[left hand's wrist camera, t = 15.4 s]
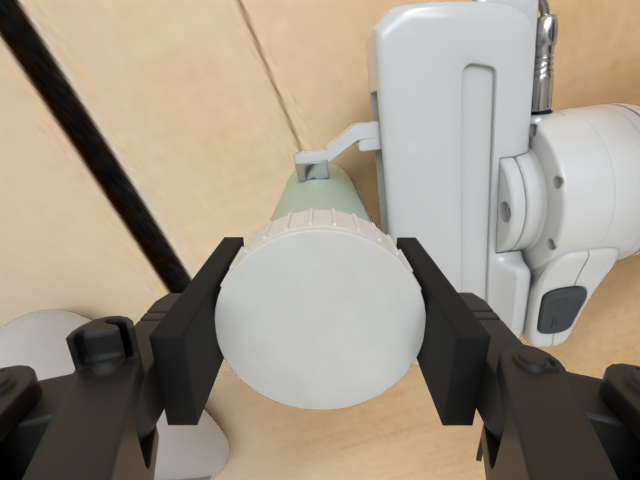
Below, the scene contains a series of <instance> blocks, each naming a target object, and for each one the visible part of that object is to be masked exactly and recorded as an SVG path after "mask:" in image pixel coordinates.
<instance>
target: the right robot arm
mask: <svg viewBox="0 0 640 480" xmlns="http://www.w3.org/2000/svg"><path fill="white" fill-rule="evenodd" d="M538 9H539V13H540V17H539V18H537V16H538ZM557 37H558V19H557V15H556V14H551V15H550V9H549V5H548V2H547V0H473V1H472V2H471V1H446V2H425V3H415V4H406V5H400V6H396V7H393V8H391V9H389V10H388V11H386V12H385V13H384V14H383V15H382V17H381V18H380V19H379V20H378V21H377V22H376V24H375V25H374V27H373V28H372V30H371V32H370V34H369V35H368V38H367V41H366V51H367V63H368V75H369V88H370V100H371V112H372V121H366V122H360V123H354V124H351V125H350V126H349V127H348V128H346V129H345V130H344V131H343V132H341V133H340V134H339V135H338V136H337V137H335V138H334V139H333V140H332V141H330V142H329V143H328V144H327V145H325V146H326V148H320V149H313V150H306V151H300V152H297V153H294V162H295V167H296V173H297V178H298V181H299V182H304V181H309V180H311V179H312V178H315V179H325V178H329V171H328V163H329V162H330V161H332V160H333V159H334V158H336V157H337V156H338V155H340V154H341V153H342V152H343V151H345V150H346V149H347V148H349V147H350V146H351V145H352V144H354V143H355V146H356V147H357V148H358V149H359V150H360V151H361V152H362V151H370V150H375V161H376V173H377V185H378V197H379V209H380V221H381V231H382V232H383V233H384V234H385V235H387V234H389V235H390V237H391V239H392V240H393V242H394V244H395V246H396V245H397V237H416V239H417V240H418V241H419V242H420V244H421V245H422V246H423V248H424V249H425V250H426V252H427V253H428V254H429V256H430V257H431V258H432V260H433V261H434V262H435V263H436V265H437V266H438V267H439V269H440V270H441V271H442V273H443V274H444V275H445V277H446V278H447V279H448V281H449V282H450V283H451V284H452V286H453V287H454V288H455V290H456V291H457V292H472V293H473V294H475V295H477V296H478V297H480V298H481V299H483V300H485V301H486V302H487V304H488V305H489V306H490V307H491V308H492V309H493V312H495V313H496V314H497V315H498V316H499V317H500V320H502V321H503V322H504V323H505V324H506V325H507V326H508V328H509V329H510V330H511V331H512V332H513V333H514V334H515V336H516V337H517V338H518V339H519V338H520V336H522V337H523V338H525V339H526V340H527V341H528V342H529V343H530V344H531V345H533V346H535V347H540V348H542V347H553V346H557V345H560V344H562V343H563V342H564V341H565V340H566V339H567V338H568V336H569V335H570V333H571V331H572V329H573V327H574V325H575V324H576V322H577V320H578V318H579V316H580V314H581V312H582V310H583V309H584V307H585V305H586V304H587V302H588V300H589V299H590V297H591V295H592V294H593V292H594V291H595V289H596V288H597V286H598V285H599V284H600V282H601V281H602V280H603V278H604V277H605V276H606V275H607V273H608V272H609V271H610V270H611V268H612V267H613V265H614V264H615V262H616V261H617V260H622V259H625V258H628V257H631V256H634V255H638V254H640V106H638V105H633V104H626V103H605V104H598V105H591V106H584V107H578V108H571V109H564V110H556V111H551V103H552V92H553V79H554V73H553V67H552V66H553V62H552V61H553V54H554V45H555V44H556V42H557ZM327 161H328V162H327ZM413 364H414V365H419V363H418V361H417V358H416V359H415V361H414V362H413Z"/></svg>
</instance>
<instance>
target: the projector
mask: <svg viewBox="0 0 640 480" xmlns="http://www.w3.org/2000/svg"><path fill="white" fill-rule="evenodd" d="M91 321H92V320H90V319H88V318H86V317H83V316H81V315H79V314H76V313H73V312H69V311H64V310H42V311H36V312H32V313H29V314H26V315H24V316H21V317H19V318H17V319H15V320H13V321H12V322H10V323H8V324H6V325H5V326H3V327H2V328H0V368H4V367H10V366H16V365H24V366H30V367H31V368H32V369H34V370H35V373H36V375H37V378H38V381H40V380H45V379H49V378H54V377H59V376H64V375H68V374H72V373H74V371H75V367H74V364H73V361H72V357H71V354H70V351H69V348H68V345H67V342H66V337H67V336H68V335H69V334H70V333H71V332H72V331H73V330H75V329H77V328H78V327H80V326H81V325H83V324H86V323H88V322H91ZM156 425H157V429H158V435H159V442H158V450H157V458H156V466H155V474H154V480H213V479H214V478H215V477H216V476H217V475H218V474H219V473H220V472H221V471H222V470H223V469H224V467H225V465H226V463H227V460H228V456H229V442H228V439H227V437H226V435H225V434H224V432H223V431H222V430H221V428H220V427H219V426H218V424H217V423H216V422H215V421H214V420H213V418H212V417H211V416H210V415H209V414H208V413H207V412H206V411H205V409H204V410H203V412H202V415H201V417H200V420H199V423H198V425H168V423H167V419H166V414H165V409H164V410H163V412H162V414H161V416H160V418H159V420H158V422H157V424H156Z"/></svg>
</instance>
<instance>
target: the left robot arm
mask: <svg viewBox="0 0 640 480" xmlns="http://www.w3.org/2000/svg"><path fill="white" fill-rule="evenodd" d="M242 246H243V247H244V242H243V237H225V238H224V239H223V240H222V241H221V243H220V244H219V245H218V247H217V248H216V249H215V251H214V252H213V253H212V255H211V256H210V257H209V259H208V260H207V261H206V262H205V264H204V265H203V266H202V268H201V269H200V270H199V272H198V273H197V274H196V276H195V277H194V278H193V280H192V281H191V282H190V283H189V285H188V286H187V287H186V289H185V290H184V291H183V293H182V294H167V295H166V296H164V297H162V298H161V299H159V300H158V301H156V302H155V303H154V304H153V305H152V306H151V308H150V309H149V310H148V311H147V313H145V314H144V316H143V317H142V318H141V319H140V321H138V323H137V324H136V325H135V326H134V324H133V321H132V320H130V319H129V318H128V317H122V316H110V317H104V318H100V319H96V320H93V321H91V322H88V323H86V324H83V325H81V326H80V327H78V328H77V329H75V330H73V331H72V332H71V333H70V334H69V335H68V336H67V337H66V342H67V345H68V348H69V351H70V354H71V357H72V361H73V364H74V367H75V371H74V373H72V374H68V375H64V376H59V377H54V378H49V379H45V380H40V381H38V378H37V375H36V373H35V370H34V369H32V368H31V367H30V366H24V365H16V366H10V367H4V368H0V480H154V474H155V466H156V458H157V450H158V442H159V435H158V429H157V425H156V424H157V422H158V420H159V418H160V416H161V414H162V412H163V410H164V409H165V414H166V419H167V423H168V425H198V423H199V420H200V417H201V415H202V412H203V410H204V407H205V405H206V402H207V400H208V397H209V394H210V392H211V389H212V387H213V384H214V382H215V379H216V377H217V374H218V371H219V369H220V366H221V364H222V361H223V359H224V356H223V354H222V352H221V349H220V347H219V344H218V341H217V335H216V327H215V307H216V303H217V298H218V295H219V293H220V290H221V288H222V287H220V285H221V283H222V281H223V280H224V278H225V276H226V274H227V273H228V271H229V269H230V268H229V267H230V266H231V264H232V262H233V260H234V259H235V257H236V255H237V254H238V252H239V250H240V249H241V247H242ZM396 247H397V249H398V250H399V249H401V251H402V252H403V254H404V256H405V258H406V259H407V261H408V263H409V264H410V266H411V268H412V270H413V272H412V273H413V275H414V276H415V278H416V280H417V282H418V283H419V285H420V287H421V290H420V291H421V294H422V297H423V300H424V304H425V311H426V322H425V330H424V338H423V343H422V346H421V349H420V351H419V353H418V355H417V357H416V358H417V361H418V363H419V366H420V368H421V371H422V373H423V376H424V379H425V381H426V384H427V386H428V389H429V391H430V394H431V396H432V399H433V402H434V404H435V407H436V409H437V412H438V414H439V417H440V419H441V422H442V425H472V424H473V420H474V415H475V410H476V408H477V410H478V412H479V414H480V416H481V418H482V420H483V422H484V425H483V429H482V433H481V438H480V442H479V447H478V451H477V457H476V460H477V461H481V459H482V455H483V457H484V465H485V473H486V480H640V367H639V366H634V365H628V364H612V365H610V366H609V367H608V368H606V371H605V374H604V376H603V379H598V378H593V377H589V376H584V375H579V374H574V373H570V372H566V370H565V368H564V367H563V366H562V364H561V363H560V362H559V361H558V360H557V359H556V358H554V357H553V356H551V355H550V354H549V353H546V352H544V351H542V350H540V349H538V348H535V347H531V346H528V345H523V344H522V343H521V341H520V340H519V339H518V338H517V337H516V336H515V334H514V333H513V332H512V331H511V330H510V329H509V328H508V326H507V325H506V324H505V323H504V322H503V321H502V320H500V317H499V316H498V315H497V314H496V313H495V312H493V309H492V308H491V307H490V306H489V305H488V304H487V302H486V301H485V300H483V299H481V298H480V297H478V296H477V295H475V294H473V293H472V292H457V291H456V290H455V288H454V287H453V286H452V284H451V283H450V282H449V281H448V279H447V278H446V277H445V275H444V274H443V273H442V271H441V270H440V269H439V267H438V266H437V265H436V263H435V262H434V261H433V260H432V258H431V257H430V256H429V254H428V253H427V252H426V250H425V249H424V248H423V246H422V245H421V244H420V242H419V241H418V240H417V239H416V237H397V245H396Z"/></svg>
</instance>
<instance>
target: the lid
mask: <svg viewBox="0 0 640 480" xmlns="http://www.w3.org/2000/svg"><path fill="white" fill-rule="evenodd" d="M229 268H230V269H229V271H228V273H227V274H226V276H225V278H224V280H223V281H222V283H221V285H220V287H222V288H221V290H220V293H219V295H218V298H217V303H216V307H215V327H216V335H217V341H218V344H219V347H220V349H221V352H222V354H223V356H224V358H225V360H226V361H227V363H228V365H229V366H230V367H231V369H232V370H233V371H234V372H235V374H236V375H237V376H238V377H239V378H240V379H241V380H242V381H243V382H244V383H246V384H247V385H248V386H249V387H251V388H252V389H253V390H255V391H256V392H258V393H260V394H261V395H263V396H265V397H267V398H269V399H271V400H273V401H276V402H279V403H282V404H284V405H288V406H292V407H296V408H303V409H310V410H329V409H338V408H344V407H349V406H353V405H356V404H360V403H362V402H365V401H367V400H370V399H372V398H374V397H376V396H378V395H379V394H381V393H383V392H384V391H386V390H387V389H389V388H390V387H392V386H393V385H394V384H395V383H396V382H397V381H399V380H400V379H401V378H402V377H403V375H404V374H405V373H406V372H407V371H408V370H409V368H410V367H411V365H412V364H413V362H414V361H415V359H416V357H417V355H418V353H419V351H420V349H421V346H422V343H423V338H424V330H425V322H426V311H425V304H424V300H423V297H422V294H421V291H420V290H421V287H420V285H419V283H418V282H417V280H416V278H415V276H414V275H413V273H412V272H413V270H412V268H411V266H410V264H409V263H408V261H407V259H406V258H405V256H404V254H403V252H402V251H401V249H399V250H398V249H397V247H396V246H395V244H394V242H393V240H392V239H391V237H390V235H389V234H387V235H385V234H384V233H383V232H382V231H381V230H379V229H378V228H377V227H376V226H375V224H374V223H373V222H371V223H369V222H367V221H366V220H363V219H361V218H359V217H357V216H356V214H355V213H352V215H351V214H347V213H344V212H339V211H335V209H334V208H331V210H313V208H310V210H308V211H301V212H297V213H293V214H292V212H289V213H288V215H287V216H284V217H281V218H279V219H277V220H275V221H272V220H271V221H269V223H268V225H267V226H265V227H264V228H263V229H261V230H260V231H259V232H258V233H256V232H254V233H253V235H252V236H251V238H250V240H249V242H248V243H247V244H246V246H245V247H243V246H242V247H241V249H240V250H239V252H238V254H237V255H236V257H235V259H234V260H233V262H232V264H231V266H230V267H229Z"/></svg>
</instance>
